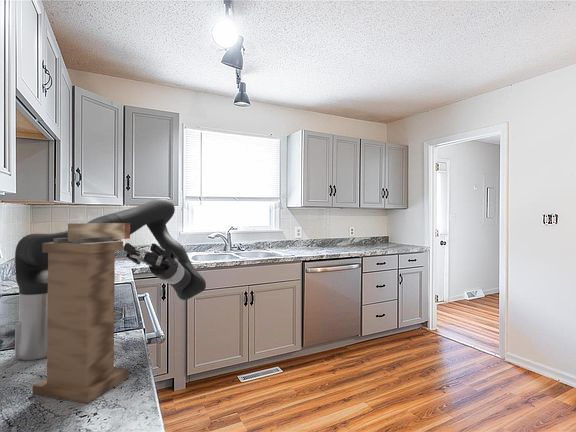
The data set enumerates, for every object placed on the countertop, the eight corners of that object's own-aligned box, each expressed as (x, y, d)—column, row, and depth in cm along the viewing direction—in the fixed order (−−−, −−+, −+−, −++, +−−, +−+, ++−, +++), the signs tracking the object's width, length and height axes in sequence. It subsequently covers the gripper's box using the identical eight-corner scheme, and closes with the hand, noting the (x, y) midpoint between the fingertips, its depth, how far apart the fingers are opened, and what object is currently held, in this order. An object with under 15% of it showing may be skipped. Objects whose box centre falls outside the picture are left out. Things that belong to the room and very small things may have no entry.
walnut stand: (79, 370, 84) (80, 236, 84) (128, 376, 80) (129, 236, 81) (32, 395, 72) (34, 238, 73) (87, 403, 69) (89, 239, 69)
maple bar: (120, 238, 90) (120, 223, 90) (130, 238, 89) (130, 223, 89) (67, 241, 74) (67, 223, 74) (78, 242, 73) (79, 223, 74)
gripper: (151, 257, 112) (121, 233, 98) (191, 258, 108) (165, 234, 95) (144, 279, 108) (111, 257, 94) (184, 281, 105) (157, 259, 91)
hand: (138, 246), depth 95 cm, fingers open, 8 cm apart
